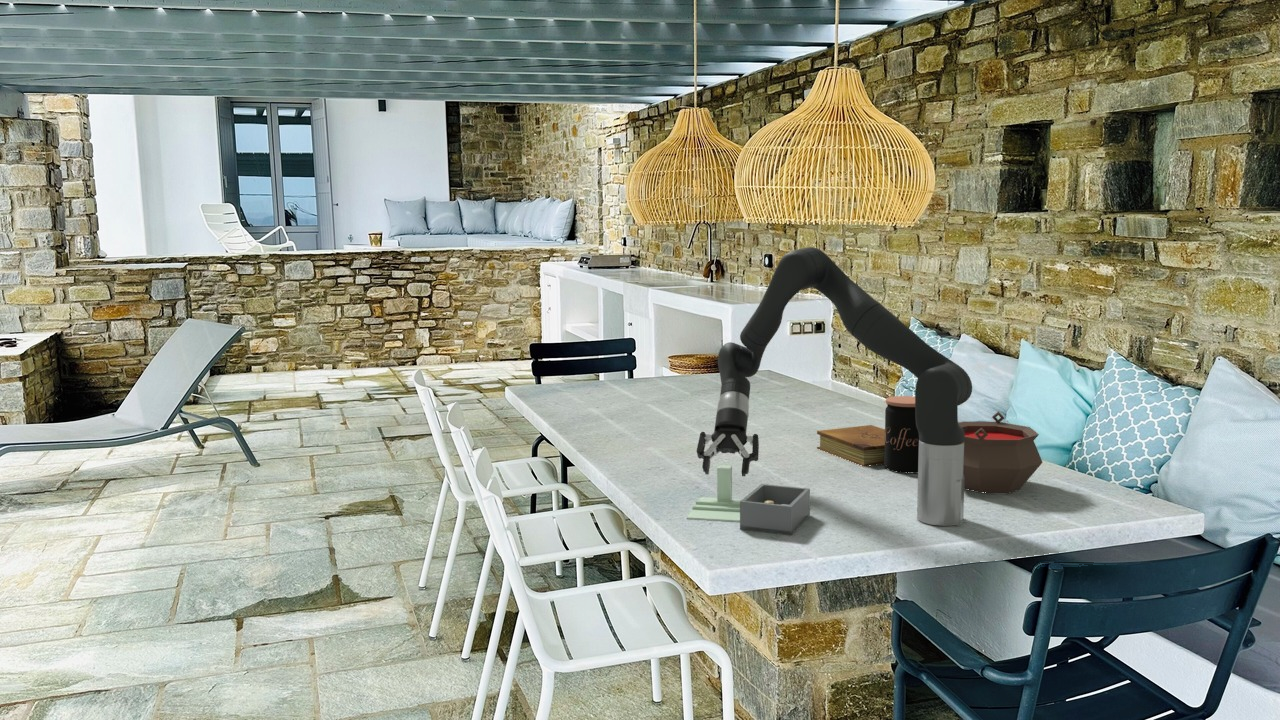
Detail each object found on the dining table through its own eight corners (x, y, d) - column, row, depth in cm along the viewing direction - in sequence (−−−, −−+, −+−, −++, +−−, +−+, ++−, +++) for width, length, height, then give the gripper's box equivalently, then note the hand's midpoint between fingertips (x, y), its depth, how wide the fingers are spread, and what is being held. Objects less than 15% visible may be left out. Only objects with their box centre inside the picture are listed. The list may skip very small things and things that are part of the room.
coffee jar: (876, 469, 259) (877, 400, 257) (898, 461, 267) (899, 394, 264) (913, 476, 252) (914, 405, 249) (935, 468, 259) (936, 399, 257)
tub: (809, 515, 220) (810, 488, 220) (791, 535, 207) (791, 506, 206) (761, 510, 225) (761, 483, 224) (740, 529, 211) (739, 501, 210)
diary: (923, 461, 269) (923, 440, 268) (863, 469, 262) (863, 447, 261) (873, 443, 290) (873, 424, 289) (816, 450, 283) (817, 430, 282)
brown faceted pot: (1033, 505, 225) (1036, 433, 223) (925, 492, 237) (926, 424, 235) (1048, 480, 246) (1051, 414, 244) (948, 469, 258) (950, 406, 256)
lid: (752, 503, 232) (752, 465, 230) (741, 524, 216) (741, 484, 215) (700, 500, 235) (700, 463, 233) (686, 520, 219) (686, 481, 218)
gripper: (700, 405, 240) (692, 463, 231) (760, 407, 237) (754, 466, 227) (704, 422, 246) (696, 480, 236) (763, 424, 243) (757, 483, 233)
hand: (724, 473), depth 232 cm, fingers open, 8 cm apart
